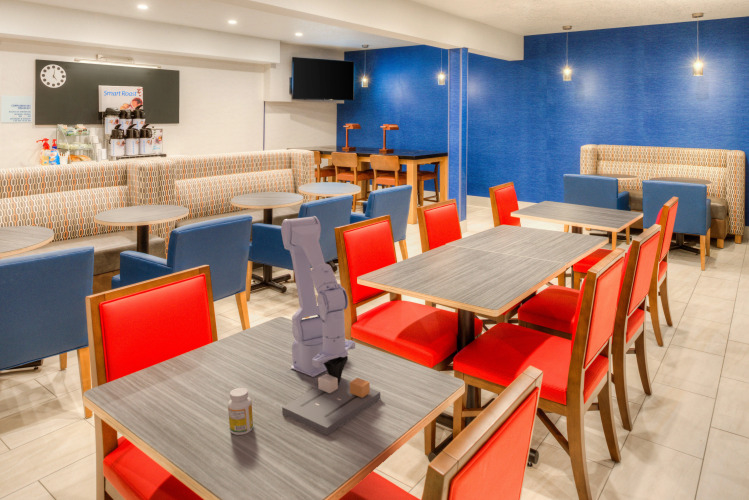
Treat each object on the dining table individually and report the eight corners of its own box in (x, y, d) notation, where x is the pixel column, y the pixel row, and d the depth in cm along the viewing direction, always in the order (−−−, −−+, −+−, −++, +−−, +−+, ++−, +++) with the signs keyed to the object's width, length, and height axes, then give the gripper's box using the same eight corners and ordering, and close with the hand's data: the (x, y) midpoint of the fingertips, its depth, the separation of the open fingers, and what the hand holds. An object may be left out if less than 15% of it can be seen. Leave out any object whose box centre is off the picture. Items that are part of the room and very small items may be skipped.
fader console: (282, 414, 129) (282, 406, 129) (337, 382, 144) (336, 375, 144) (327, 435, 120) (327, 427, 120) (380, 399, 135) (380, 392, 135)
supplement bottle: (239, 438, 120) (235, 400, 117) (225, 430, 123) (221, 392, 121) (258, 427, 124) (255, 391, 121) (244, 420, 127) (241, 383, 125)
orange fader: (350, 392, 134) (349, 382, 133) (357, 388, 136) (357, 377, 135) (362, 397, 131) (361, 386, 131) (369, 392, 134) (369, 382, 133)
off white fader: (318, 388, 136) (318, 378, 135) (326, 384, 138) (326, 373, 138) (329, 393, 134) (329, 382, 133) (337, 388, 136) (337, 378, 135)
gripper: (325, 347, 127) (327, 398, 130) (363, 328, 138) (364, 375, 141) (305, 340, 131) (307, 390, 134) (343, 322, 142) (344, 368, 145)
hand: (335, 382), depth 138 cm, fingers closed
